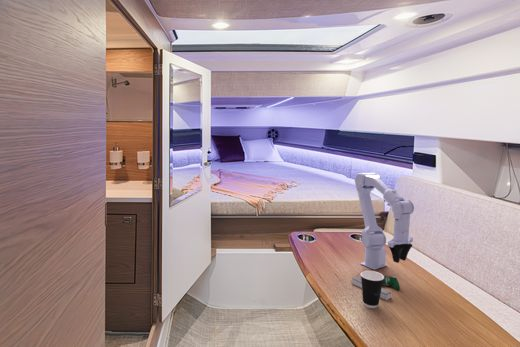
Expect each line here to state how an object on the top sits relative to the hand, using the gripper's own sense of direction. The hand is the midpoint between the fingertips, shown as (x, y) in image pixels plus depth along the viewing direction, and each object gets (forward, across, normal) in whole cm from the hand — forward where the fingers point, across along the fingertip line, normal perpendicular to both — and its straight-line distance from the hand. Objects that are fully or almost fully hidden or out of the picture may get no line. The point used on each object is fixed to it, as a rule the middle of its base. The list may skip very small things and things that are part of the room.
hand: (399, 260), depth 132 cm
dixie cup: (+9, -27, -7) cm, 29 cm away
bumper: (+8, -18, 0) cm, 20 cm away
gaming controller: (+9, -9, -1) cm, 13 cm away
